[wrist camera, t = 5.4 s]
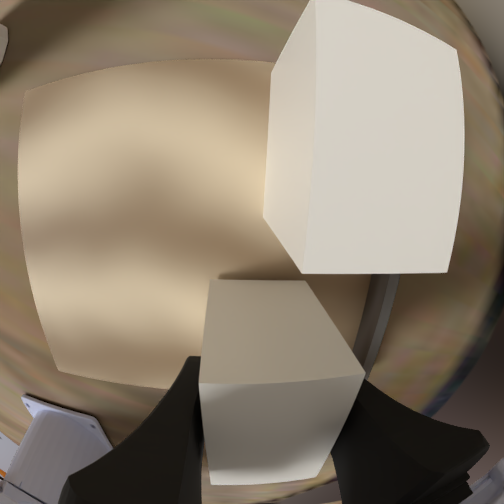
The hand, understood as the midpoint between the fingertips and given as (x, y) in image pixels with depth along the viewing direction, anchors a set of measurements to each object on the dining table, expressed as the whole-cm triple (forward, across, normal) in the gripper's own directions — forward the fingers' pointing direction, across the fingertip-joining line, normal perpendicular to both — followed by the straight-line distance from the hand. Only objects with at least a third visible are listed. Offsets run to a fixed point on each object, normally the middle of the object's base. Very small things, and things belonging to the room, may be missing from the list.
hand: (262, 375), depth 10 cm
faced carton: (+3, -2, -8) cm, 9 cm away
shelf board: (+4, +3, -4) cm, 6 cm away
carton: (+3, 0, 0) cm, 3 cm away
